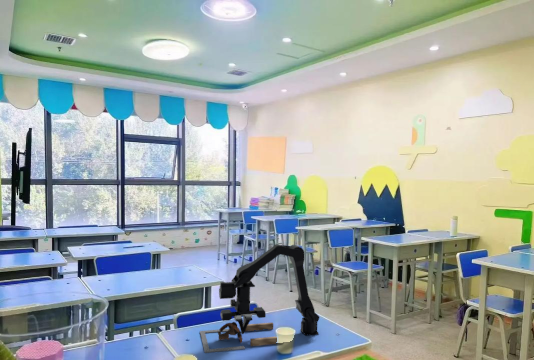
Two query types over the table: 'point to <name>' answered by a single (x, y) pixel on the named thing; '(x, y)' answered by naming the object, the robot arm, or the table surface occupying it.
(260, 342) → the holder
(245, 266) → the robot arm
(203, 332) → the bay
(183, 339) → the table surface
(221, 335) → the brown curved piece
